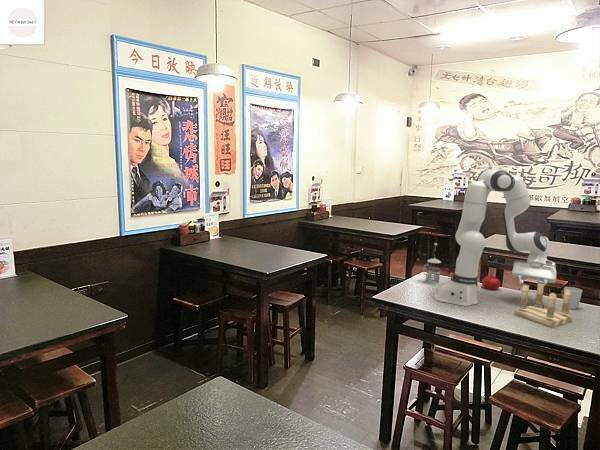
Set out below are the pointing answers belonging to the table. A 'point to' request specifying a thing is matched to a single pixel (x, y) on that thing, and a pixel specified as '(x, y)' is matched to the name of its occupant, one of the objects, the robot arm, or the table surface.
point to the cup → (574, 296)
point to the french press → (433, 272)
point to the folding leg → (539, 292)
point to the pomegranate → (490, 282)
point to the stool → (545, 310)
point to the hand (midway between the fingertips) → (531, 285)
